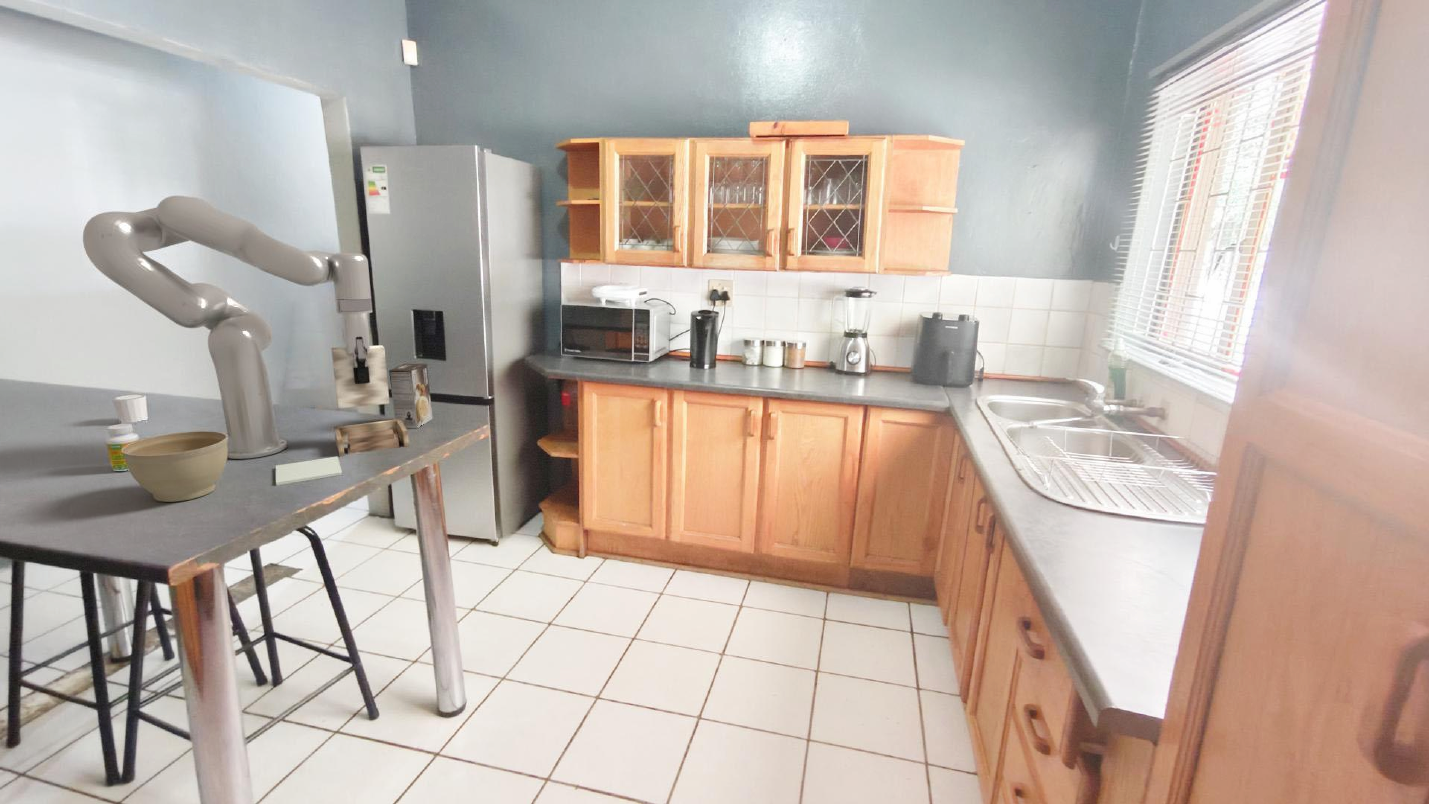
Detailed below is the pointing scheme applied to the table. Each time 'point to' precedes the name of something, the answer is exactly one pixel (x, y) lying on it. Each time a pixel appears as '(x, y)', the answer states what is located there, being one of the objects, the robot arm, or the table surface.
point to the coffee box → (411, 394)
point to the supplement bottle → (119, 444)
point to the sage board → (307, 470)
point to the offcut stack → (372, 441)
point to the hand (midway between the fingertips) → (361, 380)
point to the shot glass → (131, 407)
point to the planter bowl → (178, 463)
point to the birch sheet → (360, 393)
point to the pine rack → (395, 425)
